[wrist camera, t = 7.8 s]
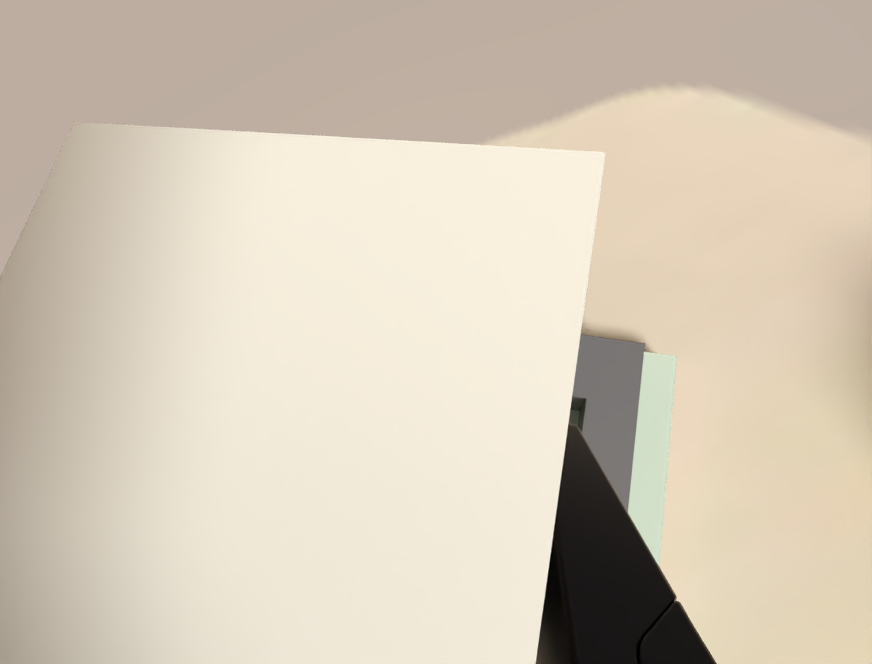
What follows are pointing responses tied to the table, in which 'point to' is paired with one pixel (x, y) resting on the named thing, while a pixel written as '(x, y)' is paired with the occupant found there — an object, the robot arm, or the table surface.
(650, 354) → the socket board
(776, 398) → the table surface
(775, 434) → the table surface
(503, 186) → the plug
